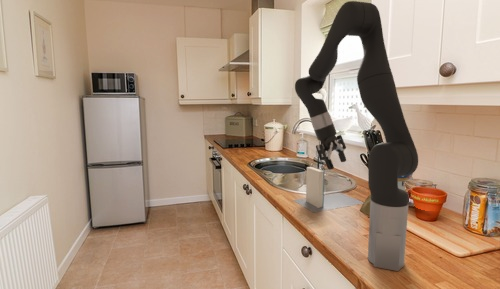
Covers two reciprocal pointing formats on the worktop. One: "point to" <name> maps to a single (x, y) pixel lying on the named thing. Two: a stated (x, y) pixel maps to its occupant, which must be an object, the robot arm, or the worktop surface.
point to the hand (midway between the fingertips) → (337, 165)
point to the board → (330, 202)
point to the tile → (315, 186)
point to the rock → (366, 206)
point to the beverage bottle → (403, 181)
